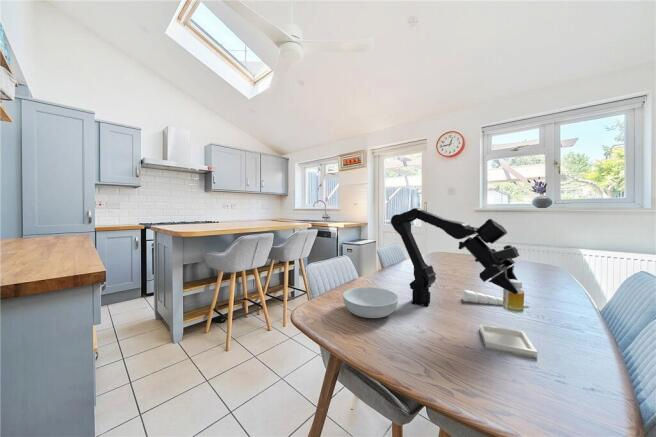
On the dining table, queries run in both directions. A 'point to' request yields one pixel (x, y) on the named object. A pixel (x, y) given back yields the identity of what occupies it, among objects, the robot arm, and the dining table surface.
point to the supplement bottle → (514, 298)
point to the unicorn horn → (482, 298)
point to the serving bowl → (370, 301)
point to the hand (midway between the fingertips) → (519, 291)
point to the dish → (507, 341)
